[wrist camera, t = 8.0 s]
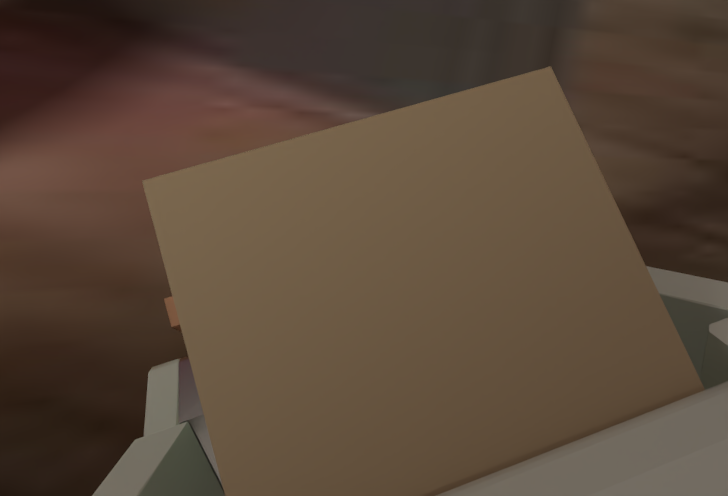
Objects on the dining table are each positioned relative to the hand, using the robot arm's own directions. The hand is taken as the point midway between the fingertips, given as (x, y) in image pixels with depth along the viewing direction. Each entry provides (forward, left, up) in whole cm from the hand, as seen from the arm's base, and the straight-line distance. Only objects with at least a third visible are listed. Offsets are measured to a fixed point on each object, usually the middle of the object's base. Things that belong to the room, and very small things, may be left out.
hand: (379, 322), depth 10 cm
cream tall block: (0, -1, -5) cm, 5 cm away
